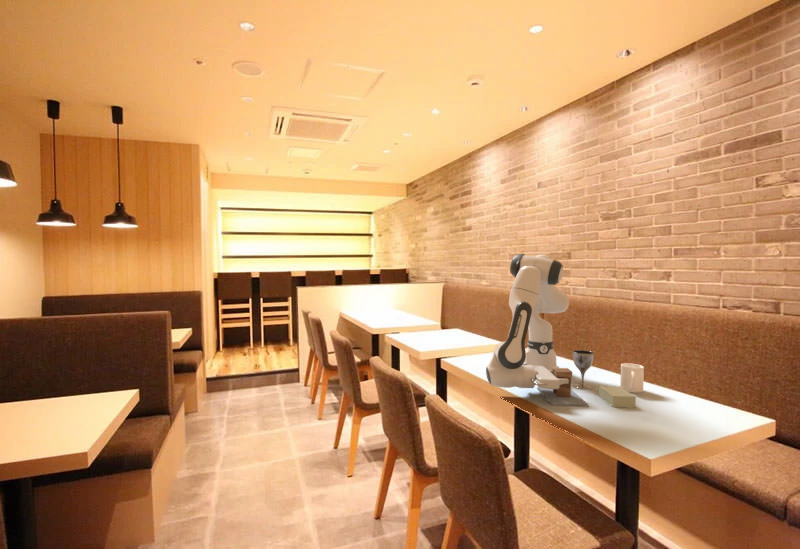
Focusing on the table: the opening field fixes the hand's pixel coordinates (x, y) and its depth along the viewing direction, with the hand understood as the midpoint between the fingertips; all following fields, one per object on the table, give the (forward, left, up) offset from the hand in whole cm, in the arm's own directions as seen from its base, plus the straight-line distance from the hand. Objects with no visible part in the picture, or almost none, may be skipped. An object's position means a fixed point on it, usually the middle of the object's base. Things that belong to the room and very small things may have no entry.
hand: (563, 377), depth 159 cm
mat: (0, -1, -8) cm, 8 cm away
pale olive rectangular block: (+4, +18, -8) cm, 20 cm away
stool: (0, +3, -6) cm, 6 cm away
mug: (-9, +31, -8) cm, 33 cm away
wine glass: (-14, +13, -8) cm, 20 cm away
